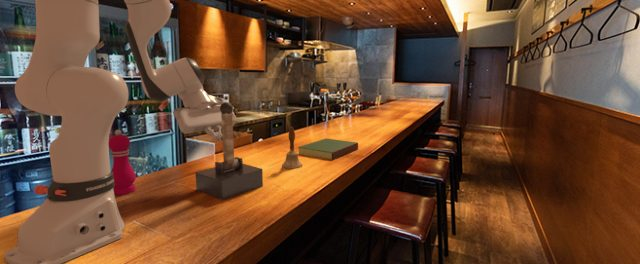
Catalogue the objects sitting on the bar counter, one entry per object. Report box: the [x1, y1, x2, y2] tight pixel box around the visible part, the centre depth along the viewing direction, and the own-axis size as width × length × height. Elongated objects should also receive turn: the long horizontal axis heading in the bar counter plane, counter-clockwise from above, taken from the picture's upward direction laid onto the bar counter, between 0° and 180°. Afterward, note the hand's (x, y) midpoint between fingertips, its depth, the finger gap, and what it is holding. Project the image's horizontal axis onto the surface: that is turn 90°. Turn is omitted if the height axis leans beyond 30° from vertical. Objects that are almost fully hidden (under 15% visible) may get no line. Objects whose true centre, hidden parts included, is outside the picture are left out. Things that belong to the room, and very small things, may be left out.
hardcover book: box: [297, 138, 359, 161], centre depth 164 cm, size 25×19×4 cm
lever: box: [220, 101, 239, 171], centre depth 110 cm, size 4×6×22 cm, turn 142°
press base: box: [195, 156, 264, 201], centre depth 112 cm, size 14×16×9 cm
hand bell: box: [281, 126, 303, 170], centre depth 138 cm, size 8×8×16 cm
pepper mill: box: [109, 129, 137, 196], centre depth 108 cm, size 7×7×20 cm
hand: (218, 137), depth 113 cm, fingers closed
